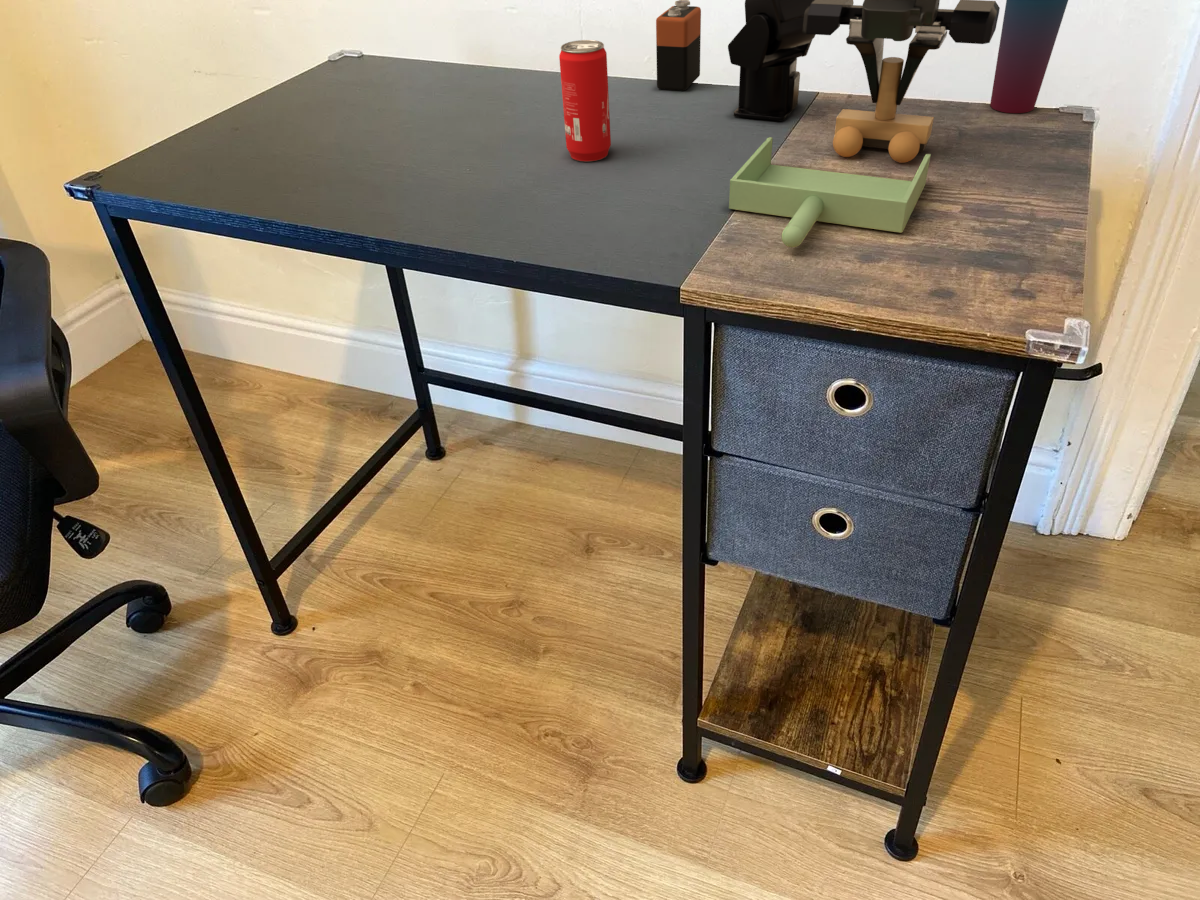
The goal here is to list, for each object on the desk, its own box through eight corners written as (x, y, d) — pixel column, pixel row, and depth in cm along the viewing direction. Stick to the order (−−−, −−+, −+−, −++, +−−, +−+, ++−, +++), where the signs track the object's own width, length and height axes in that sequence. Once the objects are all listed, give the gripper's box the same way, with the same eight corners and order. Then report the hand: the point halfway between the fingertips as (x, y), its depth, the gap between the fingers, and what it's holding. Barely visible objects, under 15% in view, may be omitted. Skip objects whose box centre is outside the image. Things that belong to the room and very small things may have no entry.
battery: (700, 76, 123) (702, -2, 117) (686, 91, 119) (686, 11, 112) (671, 75, 125) (671, -3, 119) (655, 89, 120) (654, 10, 114)
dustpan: (766, 165, 97) (768, 136, 95) (925, 184, 91) (930, 154, 89) (700, 244, 83) (701, 212, 81) (882, 273, 77) (888, 239, 75)
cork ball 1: (832, 158, 99) (827, 151, 96) (838, 129, 99) (834, 121, 96) (860, 161, 98) (857, 154, 95) (867, 132, 98) (864, 124, 95)
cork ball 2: (886, 164, 97) (884, 155, 94) (893, 135, 97) (891, 125, 94) (915, 168, 96) (914, 159, 93) (923, 139, 96) (922, 128, 93)
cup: (1046, 116, 104) (1083, -25, 94) (986, 115, 105) (1016, -24, 96) (1036, 97, 109) (1071, -38, 100) (978, 97, 110) (1007, -37, 101)
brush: (833, 144, 100) (842, 60, 94) (839, 135, 102) (849, 52, 96) (924, 153, 96) (939, 67, 90) (929, 144, 98) (944, 59, 92)
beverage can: (568, 147, 105) (560, 40, 97) (611, 145, 104) (606, 38, 97) (565, 164, 101) (556, 53, 93) (610, 162, 100) (605, 51, 93)
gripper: (794, -46, 84) (782, 119, 94) (1002, -41, 77) (965, 136, 87) (823, -67, 92) (809, 87, 101) (1015, -64, 85) (980, 101, 95)
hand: (886, 103), depth 96 cm, fingers closed on brush, 2 cm apart
